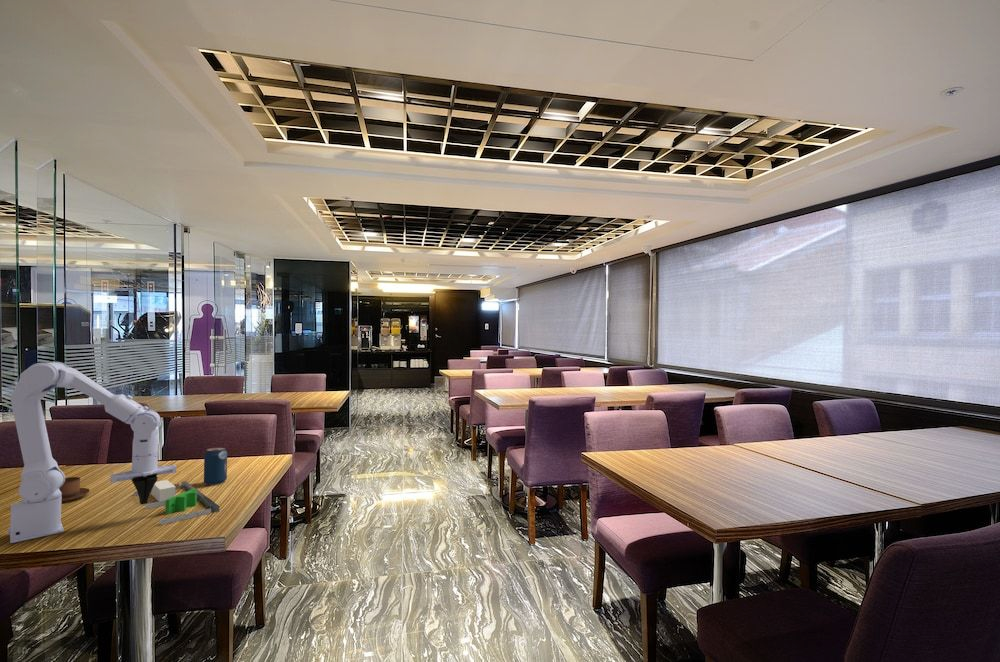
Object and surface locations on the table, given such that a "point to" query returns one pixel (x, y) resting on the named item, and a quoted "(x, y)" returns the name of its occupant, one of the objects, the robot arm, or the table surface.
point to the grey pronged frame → (202, 498)
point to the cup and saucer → (72, 489)
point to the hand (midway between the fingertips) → (143, 503)
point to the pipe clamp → (181, 501)
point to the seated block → (163, 490)
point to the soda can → (215, 466)
